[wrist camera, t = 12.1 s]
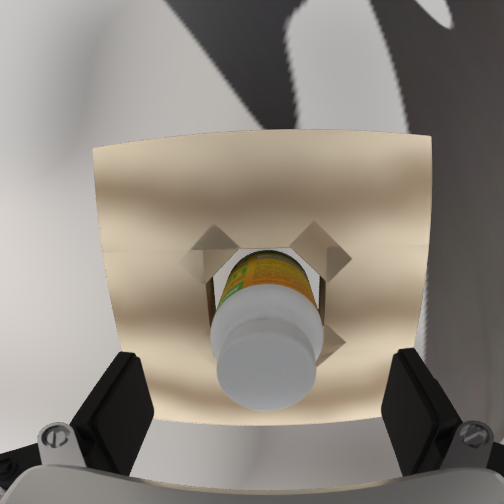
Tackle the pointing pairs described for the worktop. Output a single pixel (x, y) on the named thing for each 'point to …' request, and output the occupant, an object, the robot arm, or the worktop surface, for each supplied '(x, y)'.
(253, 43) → the worktop surface
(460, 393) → the worktop surface
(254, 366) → the supplement bottle
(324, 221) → the plate
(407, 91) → the worktop surface
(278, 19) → the worktop surface
